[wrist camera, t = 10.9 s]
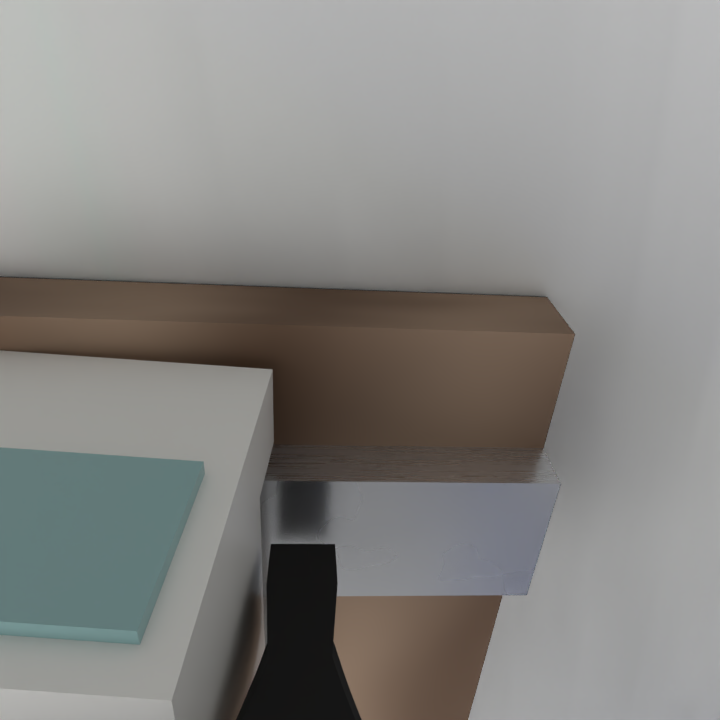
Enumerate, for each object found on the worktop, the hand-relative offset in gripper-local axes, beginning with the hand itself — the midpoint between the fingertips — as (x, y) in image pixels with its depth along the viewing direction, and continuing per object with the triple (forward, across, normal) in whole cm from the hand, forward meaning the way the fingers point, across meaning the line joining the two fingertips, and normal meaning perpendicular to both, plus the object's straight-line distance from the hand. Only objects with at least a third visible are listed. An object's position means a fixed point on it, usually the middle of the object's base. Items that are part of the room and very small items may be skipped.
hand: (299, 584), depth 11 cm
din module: (+2, +3, 0) cm, 3 cm away
